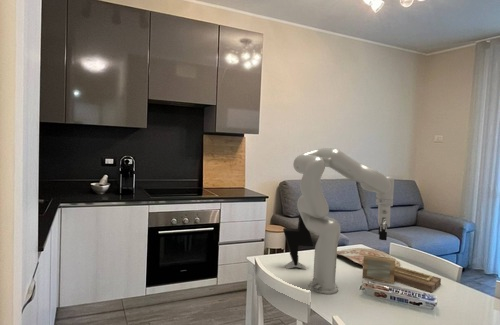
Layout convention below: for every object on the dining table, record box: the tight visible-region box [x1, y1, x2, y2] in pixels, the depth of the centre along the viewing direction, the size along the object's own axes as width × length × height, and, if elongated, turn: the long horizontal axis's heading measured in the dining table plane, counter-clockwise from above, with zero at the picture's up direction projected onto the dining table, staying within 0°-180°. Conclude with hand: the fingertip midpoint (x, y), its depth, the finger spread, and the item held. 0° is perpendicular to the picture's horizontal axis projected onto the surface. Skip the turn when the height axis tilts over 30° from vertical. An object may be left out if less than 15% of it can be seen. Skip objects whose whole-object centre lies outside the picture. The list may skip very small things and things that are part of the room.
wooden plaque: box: [361, 254, 396, 285], centre depth 160 cm, size 4×14×11 cm, turn 66°
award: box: [283, 213, 314, 270], centre depth 170 cm, size 15×5×30 cm, turn 92°
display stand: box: [394, 266, 442, 294], centre depth 161 cm, size 14×24×4 cm, turn 45°
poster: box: [337, 247, 401, 267], centre depth 189 cm, size 28×6×30 cm
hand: (382, 237), depth 159 cm, fingers open, 9 cm apart
